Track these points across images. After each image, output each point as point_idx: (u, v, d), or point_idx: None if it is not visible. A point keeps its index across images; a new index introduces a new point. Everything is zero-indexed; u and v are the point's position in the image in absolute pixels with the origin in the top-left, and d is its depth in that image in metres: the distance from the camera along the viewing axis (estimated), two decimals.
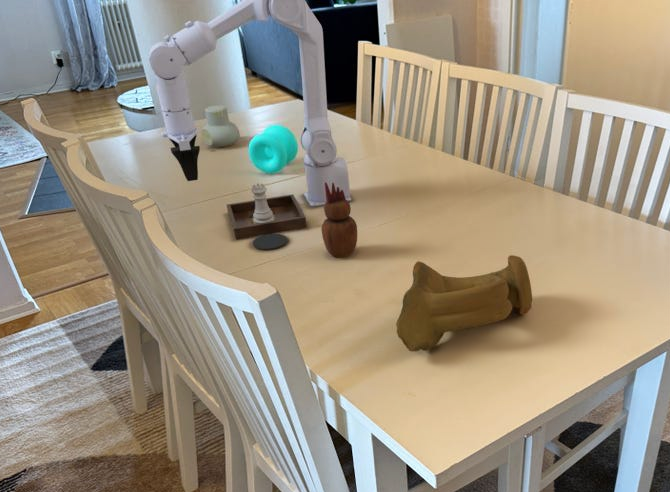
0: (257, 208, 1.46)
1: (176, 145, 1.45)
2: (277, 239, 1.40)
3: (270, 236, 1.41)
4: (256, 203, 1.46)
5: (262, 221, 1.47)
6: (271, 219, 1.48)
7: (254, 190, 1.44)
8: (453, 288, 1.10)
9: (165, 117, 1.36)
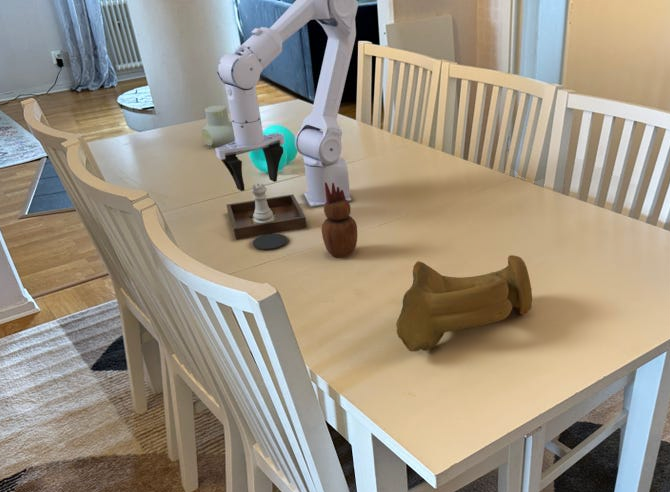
0: (257, 208, 1.46)
1: (265, 154, 1.44)
2: (277, 239, 1.40)
3: (270, 236, 1.41)
4: (256, 203, 1.46)
5: (262, 221, 1.47)
6: (271, 219, 1.48)
7: (254, 190, 1.44)
8: (453, 288, 1.10)
9: None
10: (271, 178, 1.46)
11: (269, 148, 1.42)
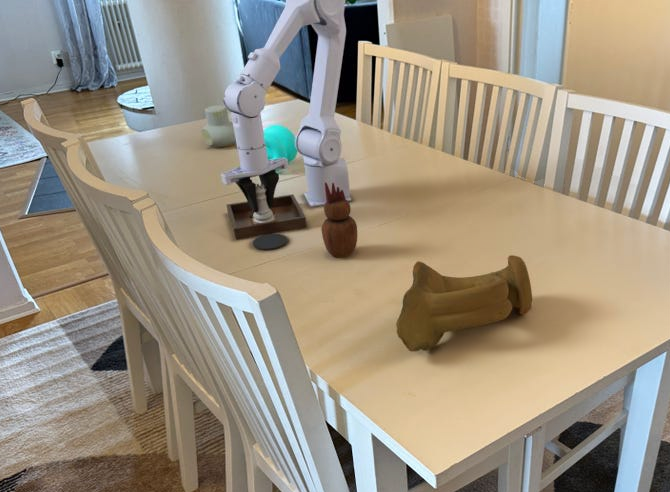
0: None
1: (261, 180, 1.46)
2: (277, 239, 1.40)
3: (270, 236, 1.41)
4: None
5: (262, 221, 1.47)
6: (271, 219, 1.48)
7: None
8: (453, 288, 1.10)
9: None
10: None
11: (265, 175, 1.44)
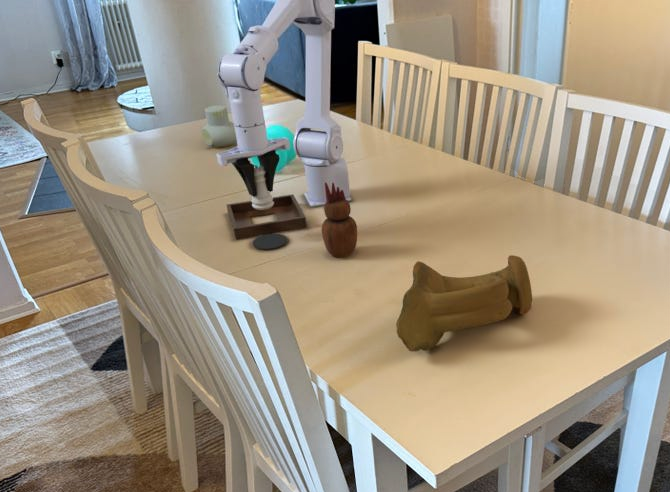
0: None
1: (260, 162, 1.35)
2: (277, 239, 1.40)
3: (270, 236, 1.41)
4: None
5: (261, 206, 1.35)
6: (271, 204, 1.36)
7: None
8: (453, 288, 1.10)
9: None
10: (267, 188, 1.36)
11: (264, 156, 1.32)
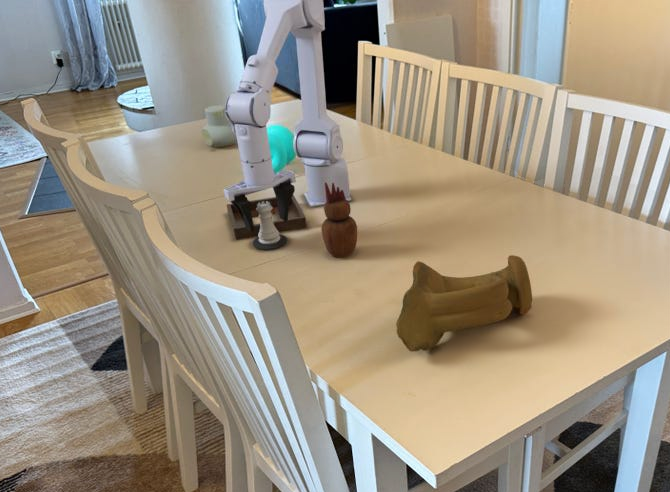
0: (262, 228, 1.37)
1: (275, 192, 1.37)
2: None
3: None
4: (261, 222, 1.36)
5: (268, 241, 1.37)
6: (277, 239, 1.38)
7: (259, 209, 1.34)
8: (453, 288, 1.10)
9: None
10: (282, 217, 1.39)
11: (280, 187, 1.35)
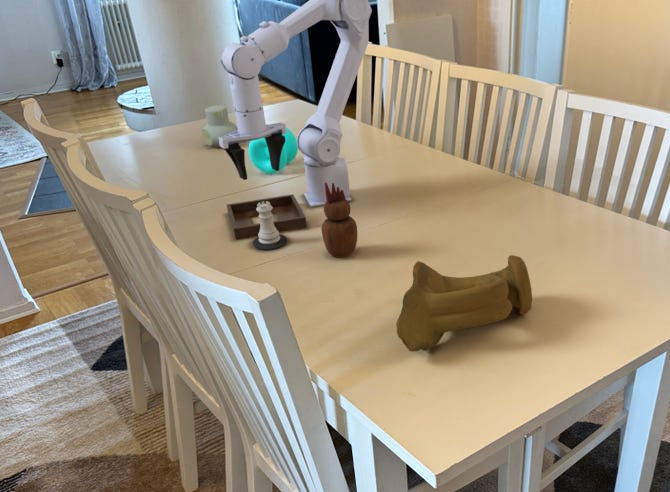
0: (262, 228, 1.37)
1: (267, 143, 1.46)
2: None
3: None
4: (261, 222, 1.36)
5: (268, 241, 1.37)
6: (277, 239, 1.38)
7: (259, 209, 1.34)
8: (453, 288, 1.10)
9: None
10: (273, 167, 1.47)
11: (271, 137, 1.43)
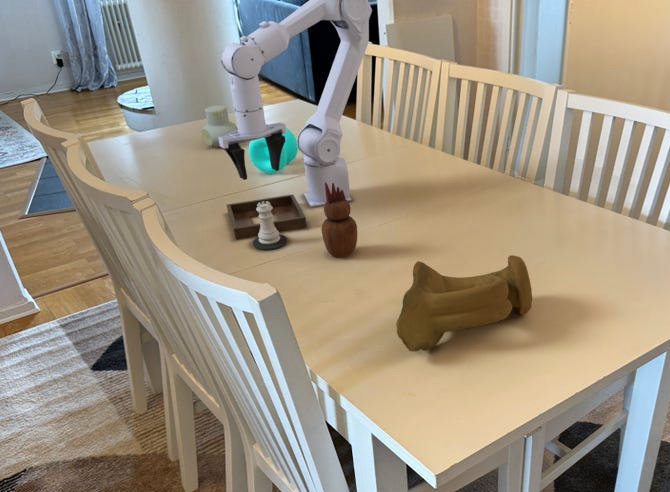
0: (262, 228, 1.37)
1: (267, 143, 1.46)
2: None
3: None
4: (261, 222, 1.36)
5: (268, 241, 1.37)
6: (277, 239, 1.38)
7: (259, 209, 1.34)
8: (453, 288, 1.10)
9: None
10: (273, 167, 1.47)
11: (271, 137, 1.43)
